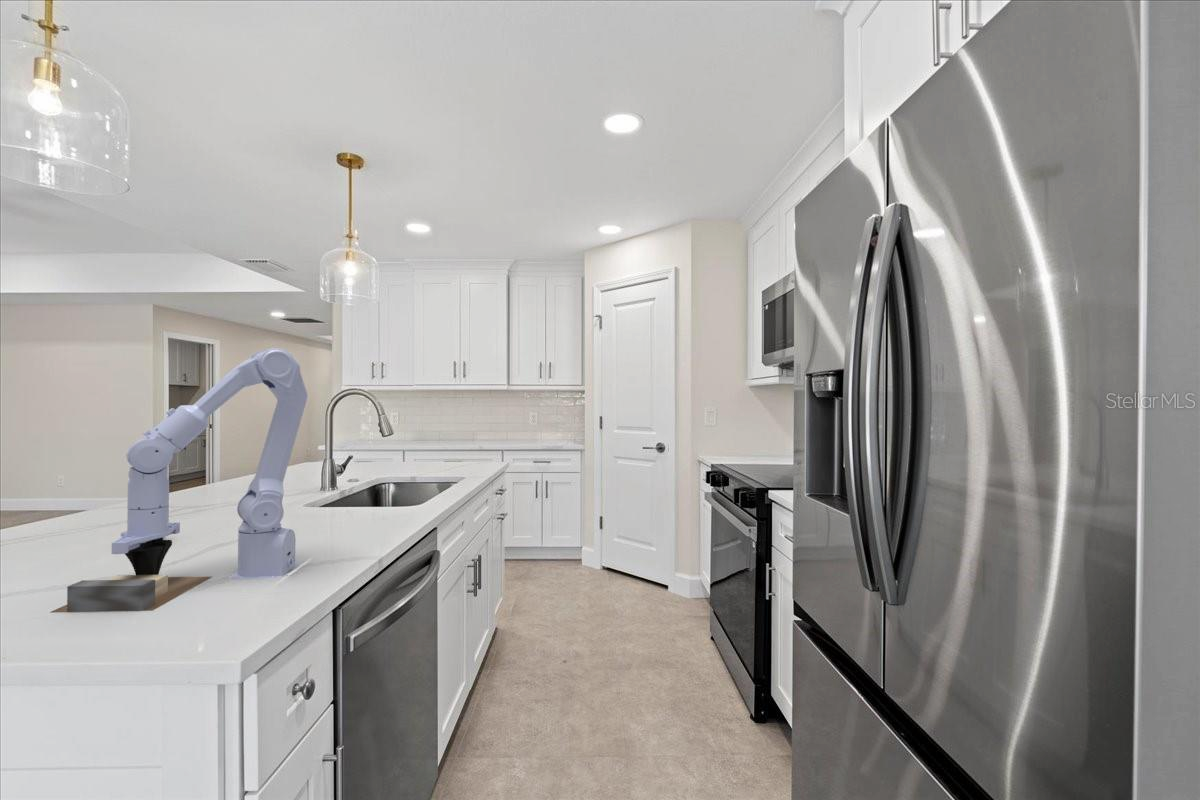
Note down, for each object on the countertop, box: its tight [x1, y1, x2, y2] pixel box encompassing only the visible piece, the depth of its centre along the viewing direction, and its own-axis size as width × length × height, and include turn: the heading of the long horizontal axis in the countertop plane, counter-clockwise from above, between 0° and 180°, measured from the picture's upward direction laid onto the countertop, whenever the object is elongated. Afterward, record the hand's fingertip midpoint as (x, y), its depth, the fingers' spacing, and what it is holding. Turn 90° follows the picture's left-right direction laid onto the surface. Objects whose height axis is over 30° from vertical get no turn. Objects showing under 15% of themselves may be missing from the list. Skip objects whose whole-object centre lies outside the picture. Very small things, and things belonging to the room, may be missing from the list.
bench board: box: [49, 576, 212, 614], centre depth 99 cm, size 15×17×5 cm
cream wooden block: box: [107, 574, 169, 598], centre depth 97 cm, size 8×5×3 cm, turn 96°
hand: (147, 584), depth 101 cm, fingers closed
